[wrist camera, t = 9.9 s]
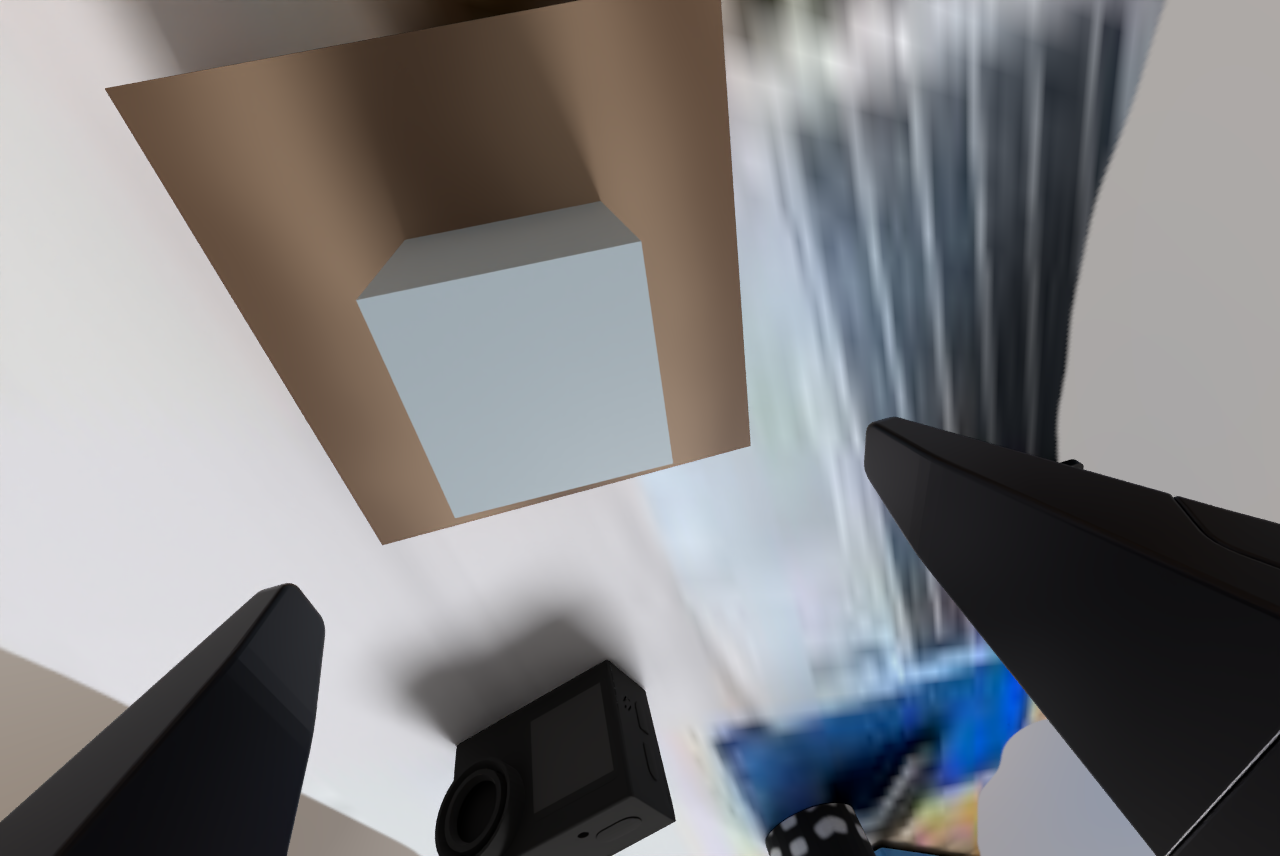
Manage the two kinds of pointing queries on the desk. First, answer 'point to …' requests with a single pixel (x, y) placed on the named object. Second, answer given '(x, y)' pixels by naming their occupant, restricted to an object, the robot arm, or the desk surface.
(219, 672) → the robot arm
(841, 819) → the spotted tube
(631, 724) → the digital camera
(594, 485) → the walnut block
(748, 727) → the desk surface
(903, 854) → the file sorter
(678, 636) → the desk surface
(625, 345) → the slate cube
